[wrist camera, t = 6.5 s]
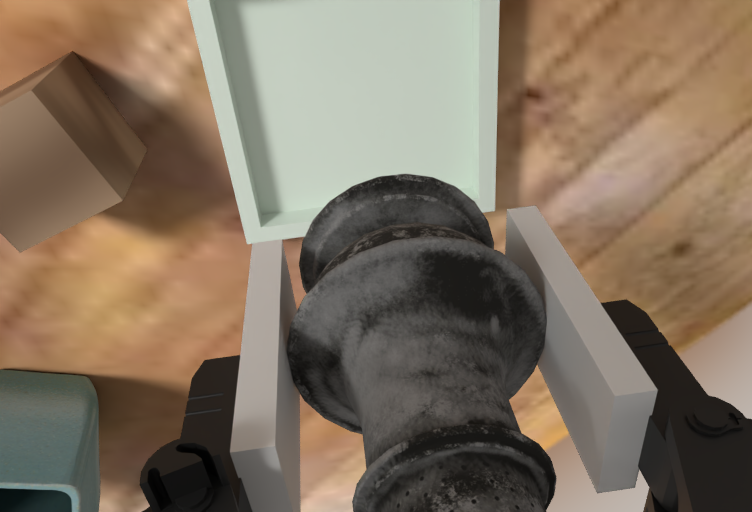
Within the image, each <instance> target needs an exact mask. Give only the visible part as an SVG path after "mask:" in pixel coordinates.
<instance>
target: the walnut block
mask: <svg viewBox="0 0 752 512" xmlns="http://www.w3.org/2000/svg"><path fill="white" fill-rule="evenodd" d="M146 152H147V148H146V147H145V146H144V144H143V143H142V142H141V140H140V139H139V138H138V136H137V135H136V134H135V132H134V131H133V130H132V129H131V127H130V126H129V125H128V123H127V122H126V121H125V119H124V118H123V117H122V115H121V114H120V113H119V111H118V110H117V109H116V107H115V106H114V105H113V103H112V102H111V101H110V100H109V98H108V97H107V96H106V94H105V93H104V92H103V90H102V89H101V88H100V86H99V85H98V84H97V82H96V81H95V80H94V78H93V77H92V76H91V74H90V73H89V72H88V71H87V69H86V68H85V67H84V65H83V64H82V63H81V61H80V60H79V59H78V57H77V56H76V55H75V53H74V52H73V51H72V52H70V53H68V54H66V55H65V56H63V57H61V58H59V59H58V60H56V61H54V62H52V63H50V64H49V65H47V66H45V67H43V68H41V69H40V70H38V71H36V72H34V73H32V74H31V75H29V76H27V77H25V78H23V79H22V80H20V81H18V82H16V83H14V84H13V85H11V86H9V87H7V88H6V89H4V90H2V91H0V233H1V234H2V235H3V236H4V237H5V238H6V239H7V240H8V241H9V242H10V243H11V244H12V245H13V246H14V247H15V248H16V249H17V250H18V251H19V252H22V251H24V250H26V249H28V248H30V247H32V246H34V245H36V244H38V243H40V242H42V241H44V240H46V239H48V238H50V237H52V236H54V235H56V234H58V233H60V232H62V231H64V230H66V229H68V228H70V227H72V226H74V225H76V224H78V223H80V222H82V221H84V220H86V219H88V218H90V217H92V216H94V215H96V214H98V213H100V212H102V211H104V210H106V209H108V208H110V207H112V206H114V205H116V204H118V203H120V202H121V201H123V200H124V198H125V195H126V193H127V191H128V189H129V187H130V185H131V183H132V181H133V179H134V177H135V175H136V172H137V170H138V168H139V166H140V164H141V162H142V160H143V158H144V156H145V154H146Z"/></svg>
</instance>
